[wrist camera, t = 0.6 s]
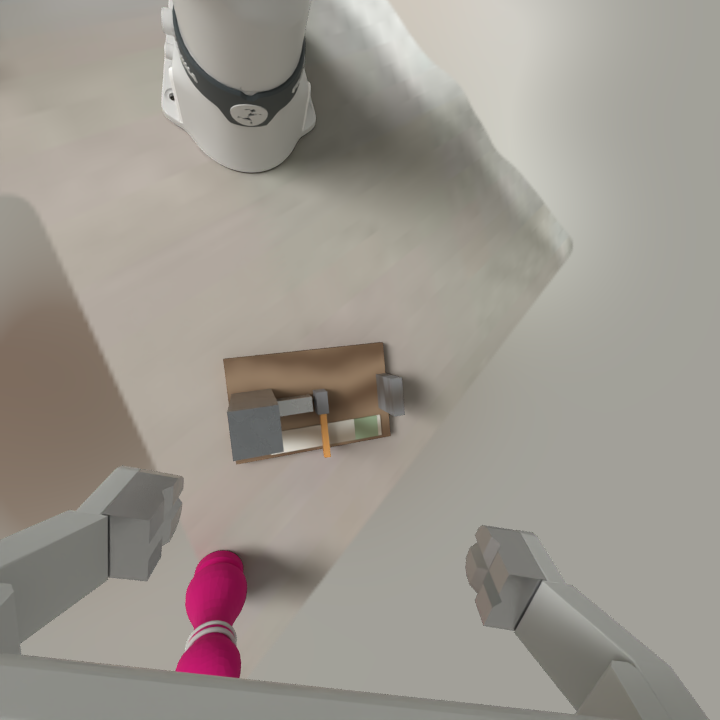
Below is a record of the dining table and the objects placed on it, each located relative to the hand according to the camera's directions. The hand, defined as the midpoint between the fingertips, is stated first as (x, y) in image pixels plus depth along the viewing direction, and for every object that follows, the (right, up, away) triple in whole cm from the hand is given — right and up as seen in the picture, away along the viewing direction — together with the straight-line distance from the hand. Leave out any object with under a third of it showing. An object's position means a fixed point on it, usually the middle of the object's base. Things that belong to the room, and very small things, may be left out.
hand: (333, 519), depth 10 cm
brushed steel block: (-11, -2, +39) cm, 41 cm away
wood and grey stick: (-5, -4, +42) cm, 42 cm away
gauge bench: (-6, -1, +43) cm, 43 cm away
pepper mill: (-19, -25, +41) cm, 51 cm away
